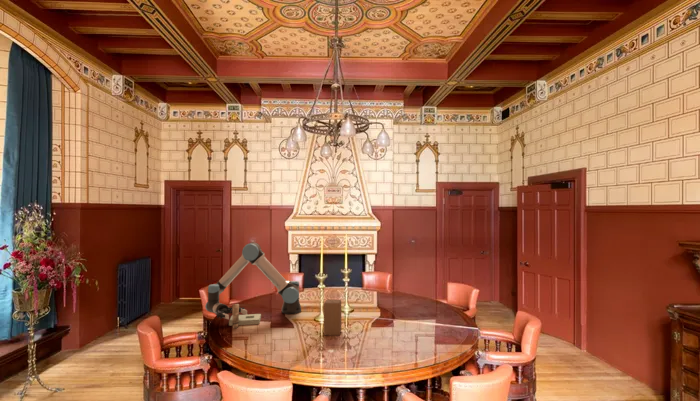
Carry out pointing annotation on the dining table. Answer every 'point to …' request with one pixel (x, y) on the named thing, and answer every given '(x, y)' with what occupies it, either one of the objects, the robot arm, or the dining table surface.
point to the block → (332, 317)
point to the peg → (235, 315)
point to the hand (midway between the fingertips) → (237, 314)
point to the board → (247, 319)
